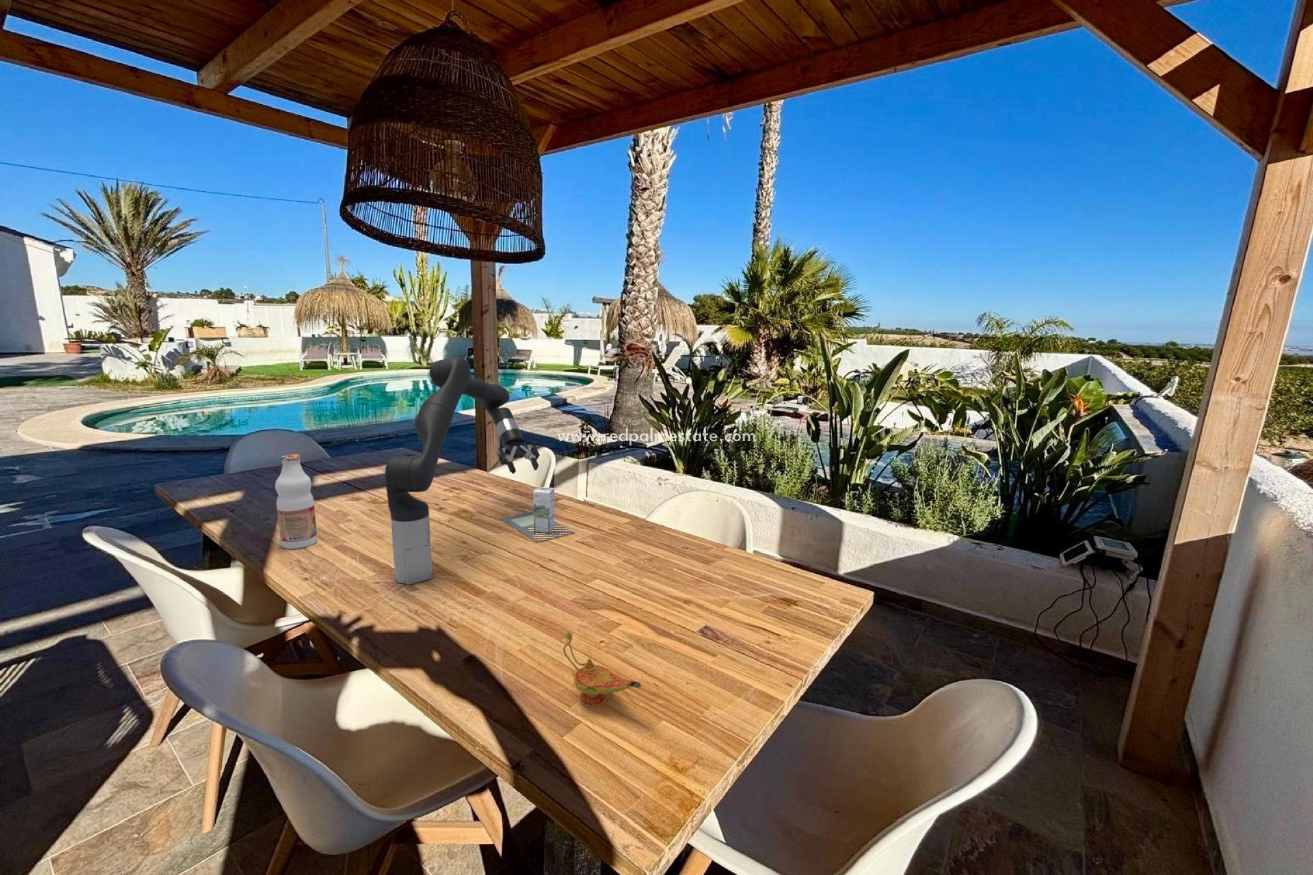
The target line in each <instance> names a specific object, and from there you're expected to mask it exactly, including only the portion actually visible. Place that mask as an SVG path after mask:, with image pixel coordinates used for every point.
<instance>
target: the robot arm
mask: <svg viewBox="0 0 1313 875" xmlns="http://www.w3.org/2000/svg"><path fill="white" fill-rule="evenodd" d="M471 372H472V371H471V365H470V363H469V362H468V360H467V359H466V358H464V357H460V356H459V357H458V356H457V357H456V356H455V357H454V356H453V357H450V358H449V357H448V358H443V359H439V360H436V361H434V362H432V363H431V365H430V367H429V376H430V379H431V382H432V383H433V384H434V386H435V387H437V388H438V389H437V390H435V391H434V392H433V393H432V394H431V395H429V397H428V398H426V399H425V401H424V402H423V403H422V404H421V406H420V408H419V410H418V413H417V415H416V417H415V420H414V429H415V431H416V434H417V436H418V439H419V440H420V441H421V444H422V446H423V450H422V453H421V454H420V455H419V456H393V457H391V458H390V459H388V461H387V463H386V465H385V469H384V470H385V471H384V480H385V481H384V482H385V489H386V497H387V504H388V506H387V507H388V510H389V513H390V521H391V524H390V525H391V535H392V539H391V540H392V551H393V565H394V578H395V581H396V582H397V583H399V584H406V586H410V585H413V584H417V583H420V582H425V581H428V580H431V579H432V575H433V560H432V545H431V544H432V543H431V542H432V541H431V527H430V526H431V524H430V509H429V505H428V503H427V502H425V501H422V500H420V499H418V498H416V497H414V496H412V494H410V493H423V492H426V491H428V489H429V488H431V485H432V483H433V481H434V477H435V473H436V469H437V466H438V462H439V458H440V455H441V450H442V447H443V445H444V442H445V439H446V436H447V433H448V432H449V429H450V427H451V423H452V421H453V418H454V415H455V411H456V409H457V407H458V405H459V402H460V399H461V398H462V396H463V395H465V396H467V397H470V398H473V399H474V400H476V401H479V402H480V404H481V406H482V407H483V408H484V409H485V411H487V412H486V413H488V414H489V415H490V416H491V419H492V420H493V422H494V424H495V426H496V430H497V434H498V437H499V439H500V441H501V443H502V446H503V447H502V446H499V447H498V449H497V451H496V453H497V454H496V455H497V456H498V459H499V463H500V465H501V466H503V465H506V466H507V468H508V471H509V472H510V473H511V474H513V475H514V474H516V473H517V470H516V467H515V465H514V462H513V461H512V460H513V459H522V458H523V459H525V460H528V461H530V463H531V466H532V468H533V470H534V471H537V470H538V469H539V466H540V465H539V463H538V459H539V458H540V452H539V451H538V449H537V446H536V445H535V443H533V442H531V444H527V443H525V438H524V437H523V434H522V432H521V429H520V427H519V425H518V423H517V422H516V420H515V417H514V416H513V413H512V411H511V409H510V408H509V407H505V406H504V405H506V404H507V403H509V401H510V393H509V391H508V390H507V389H506V388H505V387H503V386H502V385H499V384H493V383H488V382H486V381H484V380H482V379H479V378H476V377H471ZM502 406H504V407H502ZM505 454H507V455H508V457H506V455H505Z"/></svg>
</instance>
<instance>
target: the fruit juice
mask: <svg viewBox="0 0 1313 875" xmlns="http://www.w3.org/2000/svg"><path fill="white" fill-rule="evenodd" d="M280 461H281V463H282V466H281V471H280V474H279V476H278V477H277V479H276V480H275V483H274V484H275V485H274V487H275V491H276V493H277V498H276V510H277V511H276V512H277V521H278V529H279V538H280V539H279V540H280V545H281V547H282V548H284V549H288V550H296V549H303V548H307V547H310V546H312V545H314V544H316V543H317V541H318V530H317V519H316V511H315V500H314V496H313V494H312V493H311V488H312V480H311V477H310V476H309V475H307V473H306V472H305V471H304V470H303V467H302V465H301V454H296V453H295V454H294V453H293V454H285V455H281V456H280Z"/></svg>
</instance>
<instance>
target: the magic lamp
mask: <svg viewBox="0 0 1313 875" xmlns="http://www.w3.org/2000/svg"><path fill="white" fill-rule="evenodd" d="M572 640H573V634H572V633H571V632H570V631H566V634H565V642H566V644H564V646H563V649H562V650H563V651H562V652H563V655H564V657H565V658H566V660H568V661H569V662H570V664H571V665H572V666H573V667H574V669H575V670H576V671H573V672H572V675H573V682H574V683H573V684H574V685H575V687H576V688H577V690H578V691H580V692H581V693H580V694H579V697H578V698H579V699H578V700H579V702H580V703H581V704H582V705H584V706H586V707H598V706H601V705H602V704H603V703H605V702H606V701H607V697H608V694H615V693H619V692H621V691H625V690H627V689H630V688H637V689H639V688H641V687H642V683H641V682H639V681H636V680H627V679H624V680H623V679H620V678H618V677H616V676H615V675H614V674H613V673H612V672H611V671H610V670H609V669H608V668H606V667H604V666H602V665H599V664H598V665H597V664H594V663H593V661H592V659H591V658H587V660H586V662H584V663H580V662H579V661H578V660H577V659H576V656H575V655H574V653H573V649H572V646H571V642H572ZM567 646H569V649H570V652H571V656H572V658H573V660H574V662H575V663H576V664H577V665H579V666H581V668H579V667H578V666H577V665H576V664H575V663H574V662H573V661H572V660H571V658H570V657H569V655H568V654H567V652H566V647H567ZM574 672H575V674H574Z"/></svg>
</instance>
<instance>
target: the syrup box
mask: <svg viewBox="0 0 1313 875" xmlns="http://www.w3.org/2000/svg"><path fill="white" fill-rule="evenodd" d="M532 494H533V496H532V497H533V498H532V500H533V504H532V505H533V511H534V532H540V533H550V532H551V531H552V530H553V529H554V527H555V523H554V522H555V488H554V487H543V486H541V487H540V486H539V487H536V488H535V489H534V490H533V493H532Z"/></svg>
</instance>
